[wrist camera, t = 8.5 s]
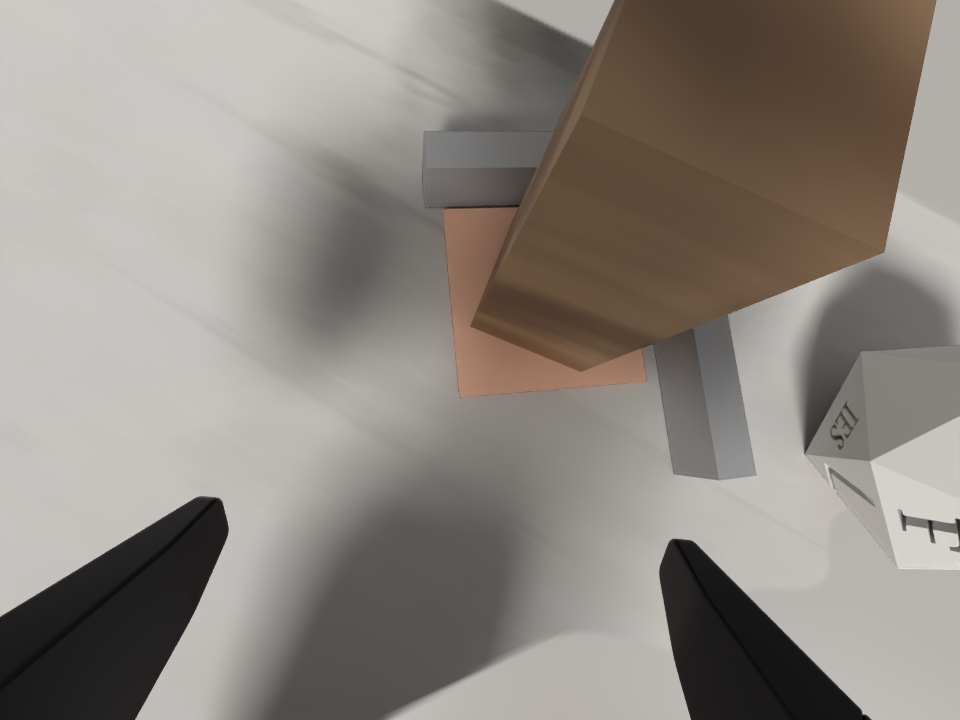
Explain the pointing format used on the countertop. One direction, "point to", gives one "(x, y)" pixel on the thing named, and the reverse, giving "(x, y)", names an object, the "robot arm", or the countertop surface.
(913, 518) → the die
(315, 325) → the countertop surface
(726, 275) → the walnut block
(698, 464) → the corner bracket
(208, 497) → the robot arm
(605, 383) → the pad
